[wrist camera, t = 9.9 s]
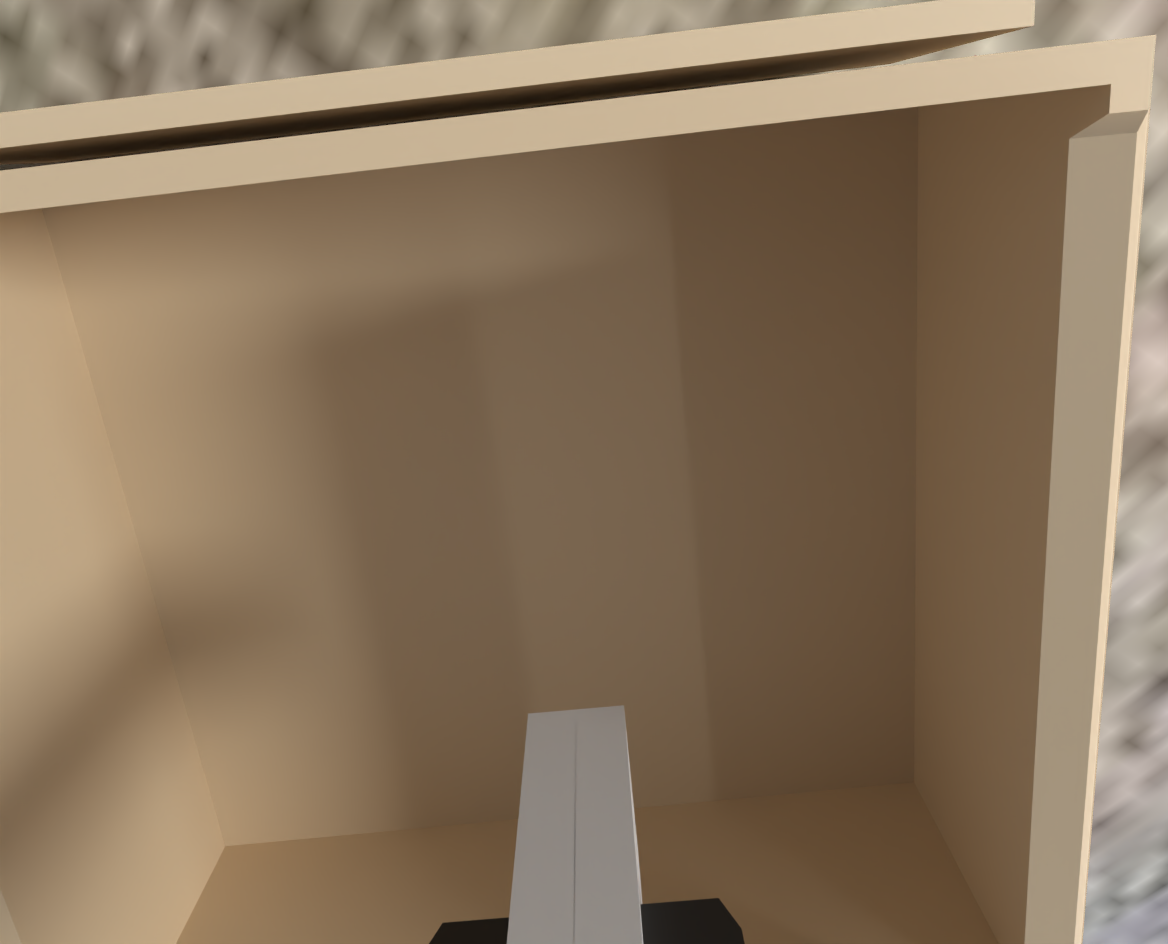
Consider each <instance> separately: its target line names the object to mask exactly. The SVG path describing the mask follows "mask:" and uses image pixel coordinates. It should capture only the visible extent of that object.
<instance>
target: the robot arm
mask: <svg viewBox="0 0 1168 944" xmlns="http://www.w3.org/2000/svg"><path fill="white" fill-rule="evenodd" d="M429 944H745V942H744V938H743V933H742V929H741V927H740V926H739V925H738V923H737V922H736V920H735V919H734V918H733V916H732V915H731V914H730V912H729V911H728V910H727V908H726V907H725V906H724V904H723V903H722V902H721V900H720V899H719V898H711V899H699V900H686V901H674V902H662V903H649V904H642V893H641V880H640V868H639V856H638V844H637V834H636V824H635V813H634V803H633V793H632V783H631V772H630V762H629V752H628V742H627V731H626V721H625V711H624V705H621V706H610V707H598V708H587V709H575V710H564V711H552V712H540V713H529V714H528V721H527V731H526V742H525V753H524V764H523V774H522V785H521V796H520V807H519V817H518V828H517V839H516V849H515V860H514V871H513V882H512V892H511V903H510V914H509V917H507V918H495V919H483V920H470V921H458V922H445V923H442V924H441V926H440V928H439V929H438V931H437V932H436V934H435V935H434V937H433V938H432V940H431V941H430V943H429Z"/></svg>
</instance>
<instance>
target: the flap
mask: <svg viewBox="0 0 1168 944" xmlns="http://www.w3.org/2000/svg"><path fill="white" fill-rule="evenodd" d="M1148 113H1149V110H1140V111H1130V112H1121V113H1111V114H1107V115H1106V116H1104V117H1103V118H1101V119H1100V120H1098V121H1096V122H1095V123H1093V124H1092V125H1090V126H1089V127H1087V128H1085V129H1084V130H1082V131H1081V132H1079V133H1077V134H1076V135H1074V136H1073V137H1071V138H1070V139H1069V153H1068V171H1067V189H1066V207H1065V225H1064V243H1063V261H1062V279H1061V297H1060V315H1059V333H1058V351H1057V369H1056V387H1055V405H1054V423H1053V441H1052V459H1051V477H1050V495H1049V513H1048V531H1047V549H1046V567H1045V585H1044V603H1043V621H1042V639H1041V657H1040V675H1039V693H1038V711H1037V729H1036V747H1035V765H1034V783H1033V801H1032V819H1031V837H1030V855H1029V873H1028V891H1027V909H1026V927H1025V944H1081V942H1082V929H1083V917H1084V904H1085V892H1086V880H1087V867H1088V855H1089V843H1090V830H1091V818H1092V805H1093V793H1094V781H1095V768H1096V756H1097V744H1098V731H1099V719H1100V706H1101V694H1102V682H1103V669H1104V657H1105V645H1106V632H1107V620H1108V608H1109V595H1110V583H1111V570H1112V558H1113V546H1114V533H1115V521H1116V509H1117V496H1118V484H1119V471H1120V459H1121V447H1122V434H1123V422H1124V410H1125V397H1126V385H1127V372H1128V360H1129V348H1130V335H1131V323H1132V311H1133V298H1134V286H1135V273H1136V261H1137V249H1138V236H1139V224H1140V212H1141V199H1142V187H1143V174H1144V162H1145V150H1146V137H1147V125H1148Z"/></svg>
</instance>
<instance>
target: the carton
mask: <svg viewBox="0 0 1168 944" xmlns="http://www.w3.org/2000/svg"><path fill="white" fill-rule="evenodd" d="M1034 13H1035V0H938V1H930V2H922V3H913V4H905V5H897V6H888V7H880V8H872V9H863V10H855V11H846V12H838V13H830V14H821V15H813V16H805V17H796V18H788V19H780V20H771V21H763V22H755V23H746V24H738V25H729V26H721V27H713V28H704V29H696V30H688V31H679V32H671V33H663V34H654V35H646V36H638V37H629V38H621V39H612V40H604V41H596V42H587V43H579V44H571V45H562V46H554V47H546V48H537V49H529V50H521V51H512V52H504V53H495V54H487V55H479V56H470V57H462V58H454V59H445V60H437V61H429V62H420V63H412V64H404V65H395V66H387V67H379V68H370V69H362V70H353V71H345V72H337V73H328V74H320V75H312V76H303V77H295V78H287V79H278V80H270V81H262V82H253V83H245V84H236V85H228V86H220V87H211V88H203V89H195V90H186V91H178V92H170V93H161V94H153V95H145V96H136V97H128V98H119V99H111V100H103V101H94V102H86V103H78V104H69V105H61V106H53V107H44V108H36V109H28V110H19V111H11V112H2V113H0V164H30V163H52V162H61V161H69V160H78V159H86V158H95V157H103V156H112V155H120V154H129V153H137V152H146V151H154V150H163V149H171V148H180V147H188V146H197V145H205V144H214V143H222V142H231V141H239V140H248V139H256V138H265V137H273V136H282V135H290V134H299V133H307V132H316V131H324V130H333V129H341V128H350V127H358V126H367V125H375V124H384V123H392V122H401V121H409V120H418V119H426V118H435V117H443V116H452V115H460V114H469V113H477V112H486V111H494V110H503V109H511V108H520V107H528V106H537V105H545V104H554V103H562V102H571V101H579V100H588V99H596V98H605V97H613V96H622V95H630V94H639V93H647V92H656V91H664V90H673V89H681V88H690V87H698V86H707V85H715V84H724V83H732V82H741V81H749V80H757V79H766V78H774V77H783V76H791V75H800V74H808V73H817V72H825V71H834V70H842V69H851V68H859V67H868V66H876V65H885V64H891V63H895V62H899V61H903V60H906V59H910V58H914V57H918V56H922V55H925V54H929V53H933V52H937V51H940V50H944V49H948V48H952V47H955V46H959V45H963V44H967V43H971V42H974V41H978V40H982V39H986V38H989V37H993V36H997V35H1001V34H1004V33H1008V32H1012V31H1016V30H1020V29H1023V28H1027V27H1031V26H1034ZM1155 43H1156V35H1150V36H1141V37H1133V38H1124V39H1115V40H1107V41H1098V42H1090V43H1081V44H1073V45H1064V46H1056V47H1047V48H1039V49H1030V50H1022V51H1013V52H1005V53H996V54H988V55H979V56H971V57H962V58H954V59H945V60H937V61H928V62H920V63H911V64H903V65H894V66H886V67H877V68H869V69H860V70H852V71H843V72H835V73H826V74H818V75H809V76H801V77H792V78H784V79H775V80H767V81H758V82H750V83H741V84H733V85H724V86H716V87H707V88H699V89H690V90H682V91H673V92H665V93H656V94H648V95H639V96H631V97H622V98H614V99H605V100H597V101H588V102H580V103H571V104H563V105H554V106H546V107H537V108H529V109H520V110H512V111H503V112H495V113H486V114H478V115H469V116H461V117H452V118H444V119H435V120H427V121H418V122H410V123H401V124H393V125H384V126H376V127H367V128H359V129H350V130H342V131H333V132H325V133H316V134H308V135H299V136H291V137H282V138H274V139H265V140H257V141H248V142H240V143H231V144H223V145H214V146H206V147H197V148H189V149H180V150H172V151H163V152H155V153H146V154H138V155H129V156H121V157H112V158H104V159H95V160H87V161H78V162H70V163H61V164H53V165H44V166H36V167H27V168H19V169H10V170H2V171H0V944H429V943H430V941H431V940H432V938H433V937H434V935H435V934H436V932H437V931H438V929H439V928H440V926H441V924H442V923H445V922H458V921H470V920H483V919H495V918H507V917H509V914H510V903H511V892H512V882H513V871H514V860H515V849H516V839H517V828H518V817H519V807H520V796H521V785H522V774H523V764H524V753H525V742H526V731H527V721H528V714H529V713H540V712H552V711H564V710H575V709H587V708H598V707H610V706H621V705H624V711H625V721H626V731H627V742H628V752H629V762H630V772H631V783H632V793H633V803H634V813H635V824H636V834H637V844H638V856H639V868H640V880H641V893H642V904H649V903H662V902H674V901H686V900H699V899H711V898H719V899H720V900H721V902H722V903H723V904H724V906H725V907H726V908H727V910H728V911H729V912H730V914H731V915H732V916H733V918H734V919H735V920H736V922H737V923H738V925H739V926H740V927H741V929H742V933H743V938H744V942H745V944H1025V927H1026V909H1027V891H1028V873H1029V855H1030V837H1031V819H1032V801H1033V783H1034V765H1035V747H1036V729H1037V711H1038V693H1039V675H1040V657H1041V639H1042V621H1043V603H1044V585H1045V567H1046V549H1047V531H1048V513H1049V495H1050V477H1051V459H1052V441H1053V423H1054V405H1055V387H1056V369H1057V351H1058V333H1059V315H1060V297H1061V279H1062V261H1063V243H1064V225H1065V207H1066V189H1067V171H1068V153H1069V139H1070V138H1071V137H1073V136H1074V135H1076V134H1077V133H1079V132H1081V131H1082V130H1084V129H1085V128H1087V127H1089V126H1090V125H1092V124H1093V123H1095V122H1096V121H1098V120H1100V119H1101V118H1103V117H1104V116H1106V115H1107V114H1111V113H1121V112H1130V111H1140V110H1149V113H1148V125H1147V137H1146V150H1145V162H1144V174H1143V187H1142V199H1141V212H1140V224H1139V236H1138V249H1137V261H1136V273H1135V286H1134V298H1133V311H1132V323H1131V335H1130V348H1129V360H1128V372H1127V385H1126V397H1125V410H1124V422H1123V434H1122V447H1121V459H1120V471H1119V484H1118V496H1117V509H1116V521H1115V533H1114V546H1113V558H1112V570H1111V583H1110V595H1109V608H1108V620H1107V632H1106V645H1105V657H1104V669H1103V682H1102V694H1101V706H1100V719H1099V731H1098V744H1099V732H1100V720H1101V707H1102V695H1103V683H1104V671H1105V658H1106V646H1107V634H1108V621H1109V609H1110V597H1111V584H1112V572H1113V560H1114V547H1115V535H1116V523H1117V511H1118V498H1119V486H1120V474H1121V461H1122V449H1123V437H1124V424H1125V412H1126V400H1127V387H1128V375H1129V363H1130V351H1131V338H1132V326H1133V314H1134V301H1135V289H1136V277H1137V264H1138V252H1139V240H1140V227H1141V215H1142V203H1143V191H1144V178H1145V166H1146V154H1147V141H1148V129H1149V117H1150V104H1151V92H1152V80H1153V67H1154V55H1155ZM1098 744H1097V756H1096V768H1095V781H1096V769H1097V757H1098ZM1095 781H1094V793H1093V805H1092V818H1093V806H1094V794H1095ZM1092 818H1091V830H1090V843H1091V831H1092ZM1090 843H1089V855H1090ZM1089 855H1088V867H1089ZM1088 867H1087V880H1088ZM1087 880H1086V892H1087ZM1086 892H1085V904H1086ZM1085 904H1084V917H1085ZM1084 917H1083V929H1084ZM1083 929H1082V941H1083ZM1081 944H1082V942H1081Z"/></svg>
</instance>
